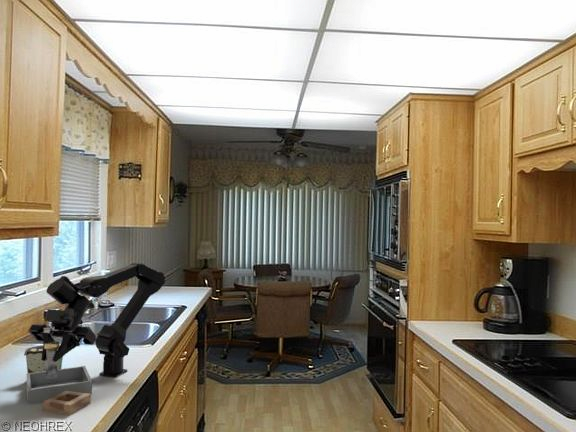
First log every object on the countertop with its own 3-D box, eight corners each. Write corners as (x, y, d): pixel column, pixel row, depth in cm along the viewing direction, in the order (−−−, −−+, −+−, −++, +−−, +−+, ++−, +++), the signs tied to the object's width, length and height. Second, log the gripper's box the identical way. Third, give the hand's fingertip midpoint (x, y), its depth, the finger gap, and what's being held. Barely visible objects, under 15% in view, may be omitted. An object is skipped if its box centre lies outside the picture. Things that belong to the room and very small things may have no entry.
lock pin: (50, 374, 136) (51, 340, 136) (62, 375, 135) (62, 342, 135) (40, 378, 132) (41, 344, 132) (52, 380, 131) (52, 345, 131)
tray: (26, 390, 140) (26, 373, 140) (84, 381, 148) (85, 365, 148) (27, 409, 126) (27, 390, 126) (91, 399, 134) (92, 381, 134)
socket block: (65, 405, 129) (65, 390, 129) (90, 408, 127) (90, 393, 127) (43, 417, 122) (43, 401, 122) (69, 420, 120) (69, 405, 120)
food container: (71, 374, 154) (72, 344, 155) (63, 381, 148) (63, 349, 148) (33, 374, 154) (33, 344, 154) (23, 381, 148) (23, 349, 148)
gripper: (33, 296, 139) (3, 343, 128) (90, 299, 136) (65, 347, 125) (50, 317, 147) (24, 363, 136) (105, 320, 144) (83, 368, 133)
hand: (48, 360), depth 132 cm, fingers closed on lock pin, 3 cm apart
